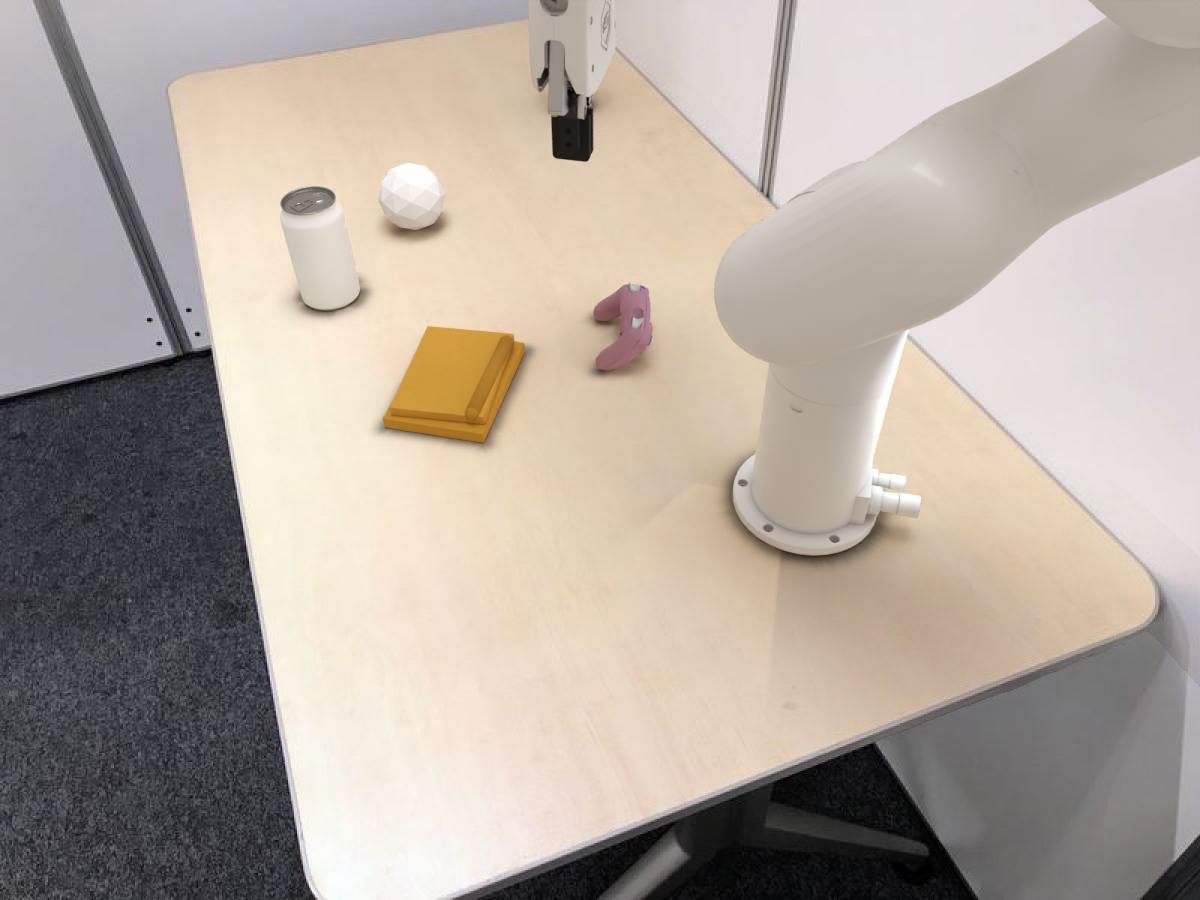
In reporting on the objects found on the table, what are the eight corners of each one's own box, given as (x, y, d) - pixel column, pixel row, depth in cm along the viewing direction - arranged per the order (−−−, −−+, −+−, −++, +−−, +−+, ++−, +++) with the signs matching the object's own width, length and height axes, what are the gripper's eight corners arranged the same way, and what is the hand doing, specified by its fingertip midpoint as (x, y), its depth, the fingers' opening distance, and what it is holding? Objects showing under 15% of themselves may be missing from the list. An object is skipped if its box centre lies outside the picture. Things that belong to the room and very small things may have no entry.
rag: (525, 351, 101) (523, 329, 99) (483, 443, 91) (480, 420, 89) (432, 338, 102) (428, 316, 100) (382, 427, 93) (376, 404, 91)
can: (372, 294, 108) (352, 198, 100) (325, 320, 105) (299, 223, 97) (338, 271, 111) (315, 177, 103) (290, 296, 108) (263, 200, 100)
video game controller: (631, 384, 99) (664, 335, 95) (591, 370, 98) (623, 320, 93) (627, 326, 106) (657, 277, 102) (589, 311, 105) (618, 262, 100)
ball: (428, 234, 122) (454, 176, 120) (427, 247, 115) (455, 185, 112) (371, 207, 120) (397, 147, 117) (366, 218, 112) (393, 155, 110)
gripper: (597, -40, 63) (597, 206, 76) (639, -109, 74) (632, 119, 87) (487, -49, 64) (506, 196, 77) (543, -115, 75) (551, 111, 88)
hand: (573, 155), depth 82 cm, fingers closed
